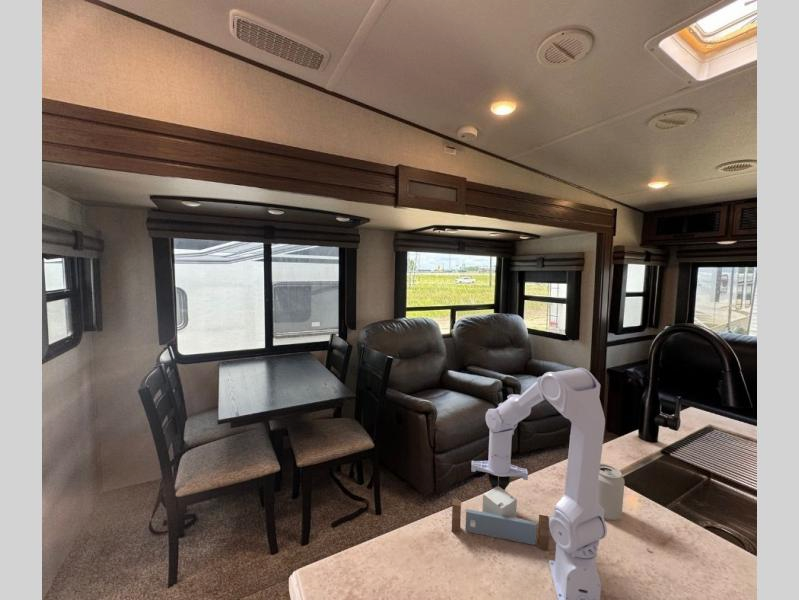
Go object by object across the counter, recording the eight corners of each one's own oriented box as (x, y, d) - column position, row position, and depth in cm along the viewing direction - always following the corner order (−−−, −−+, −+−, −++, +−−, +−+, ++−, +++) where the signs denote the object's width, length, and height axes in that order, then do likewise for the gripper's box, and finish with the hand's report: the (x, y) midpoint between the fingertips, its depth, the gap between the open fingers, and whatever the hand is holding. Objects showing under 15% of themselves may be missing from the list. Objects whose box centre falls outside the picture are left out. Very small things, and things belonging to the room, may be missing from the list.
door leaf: (535, 548, 74) (537, 528, 73) (465, 534, 78) (465, 514, 77) (534, 541, 76) (535, 521, 75) (465, 527, 80) (466, 508, 79)
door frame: (548, 550, 74) (550, 522, 73) (451, 531, 79) (452, 504, 78) (546, 543, 76) (548, 516, 75) (452, 525, 81) (453, 499, 80)
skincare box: (496, 510, 86) (497, 484, 85) (516, 525, 81) (517, 498, 80) (481, 520, 82) (482, 493, 82) (500, 536, 77) (502, 508, 77)
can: (611, 503, 89) (614, 462, 88) (627, 524, 82) (631, 479, 81) (583, 500, 90) (586, 460, 89) (597, 521, 83) (600, 477, 82)
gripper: (526, 447, 89) (523, 493, 90) (472, 440, 92) (470, 484, 93) (530, 462, 82) (527, 511, 83) (472, 453, 85) (470, 501, 86)
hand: (497, 498), depth 88 cm, fingers closed
